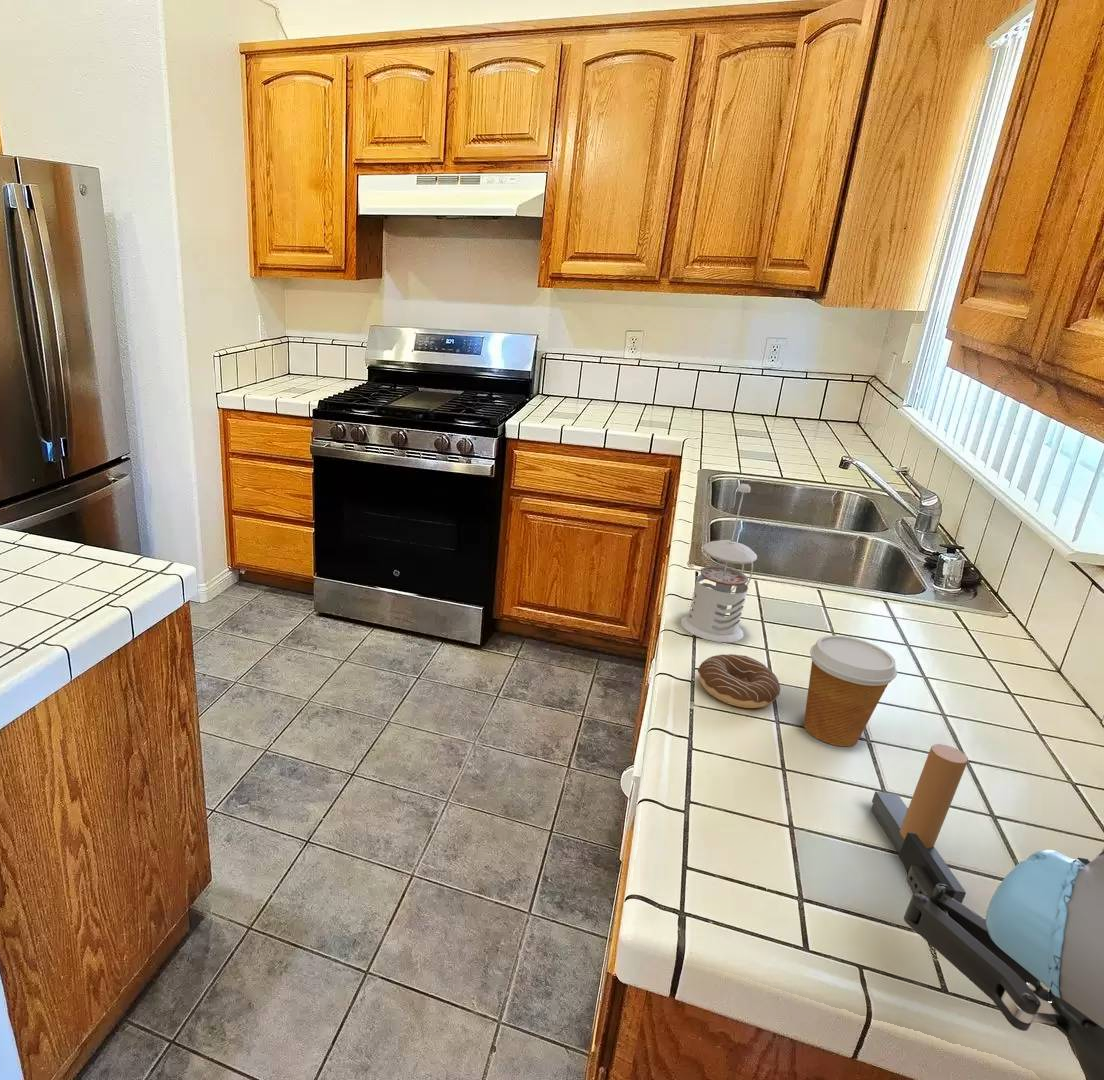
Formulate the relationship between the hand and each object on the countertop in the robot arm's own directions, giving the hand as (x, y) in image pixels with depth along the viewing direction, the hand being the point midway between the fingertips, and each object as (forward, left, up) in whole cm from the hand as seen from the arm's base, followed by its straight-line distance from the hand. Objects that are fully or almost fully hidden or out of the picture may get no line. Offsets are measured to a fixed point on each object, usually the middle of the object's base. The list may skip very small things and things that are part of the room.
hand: (990, 857), depth 66 cm
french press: (+8, -59, -9) cm, 61 cm away
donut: (+10, -39, -9) cm, 41 cm away
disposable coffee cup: (0, -32, -9) cm, 33 cm away
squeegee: (0, -10, -9) cm, 13 cm away
